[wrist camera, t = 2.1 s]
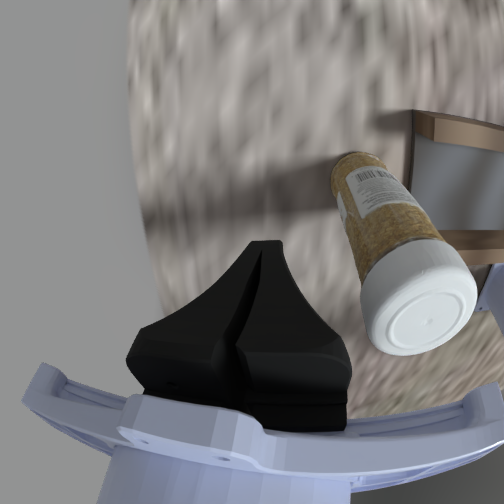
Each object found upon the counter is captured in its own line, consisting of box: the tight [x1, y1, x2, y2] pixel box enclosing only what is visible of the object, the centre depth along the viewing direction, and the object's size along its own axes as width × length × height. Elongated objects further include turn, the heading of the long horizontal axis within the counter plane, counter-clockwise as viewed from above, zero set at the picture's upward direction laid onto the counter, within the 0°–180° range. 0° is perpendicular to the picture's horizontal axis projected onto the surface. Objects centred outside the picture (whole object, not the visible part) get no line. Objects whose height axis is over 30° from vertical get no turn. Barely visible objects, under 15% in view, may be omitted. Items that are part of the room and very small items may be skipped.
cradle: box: [408, 109, 504, 266], centre depth 16 cm, size 13×11×4 cm
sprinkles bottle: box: [331, 152, 477, 356], centre depth 13 cm, size 5×5×14 cm
